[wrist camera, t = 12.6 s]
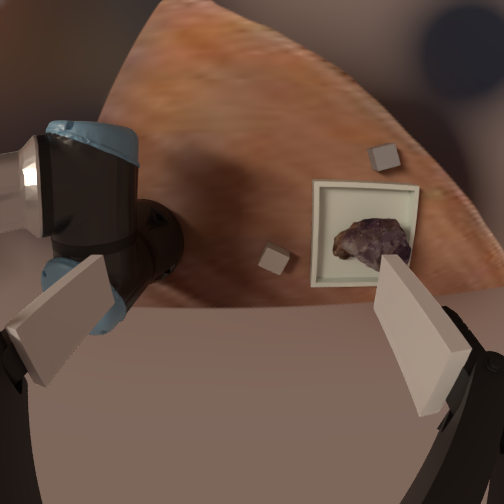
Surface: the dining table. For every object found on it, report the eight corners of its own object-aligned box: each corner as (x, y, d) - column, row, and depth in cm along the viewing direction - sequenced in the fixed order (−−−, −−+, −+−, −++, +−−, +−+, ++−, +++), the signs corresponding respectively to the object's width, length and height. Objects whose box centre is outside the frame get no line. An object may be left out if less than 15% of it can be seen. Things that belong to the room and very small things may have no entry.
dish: (309, 280, 51) (310, 287, 49) (312, 179, 44) (314, 181, 42) (401, 278, 49) (405, 284, 47) (413, 183, 43) (419, 186, 40)
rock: (380, 265, 49) (401, 214, 45) (402, 291, 42) (428, 234, 38) (324, 253, 48) (344, 196, 43) (340, 280, 40) (366, 213, 36)
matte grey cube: (258, 258, 50) (257, 265, 48) (267, 240, 49) (267, 247, 46) (279, 267, 51) (279, 275, 48) (289, 250, 49) (289, 257, 47)
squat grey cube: (372, 169, 43) (378, 171, 40) (366, 148, 42) (372, 149, 39) (393, 163, 42) (400, 165, 39) (388, 142, 41) (395, 143, 38)
